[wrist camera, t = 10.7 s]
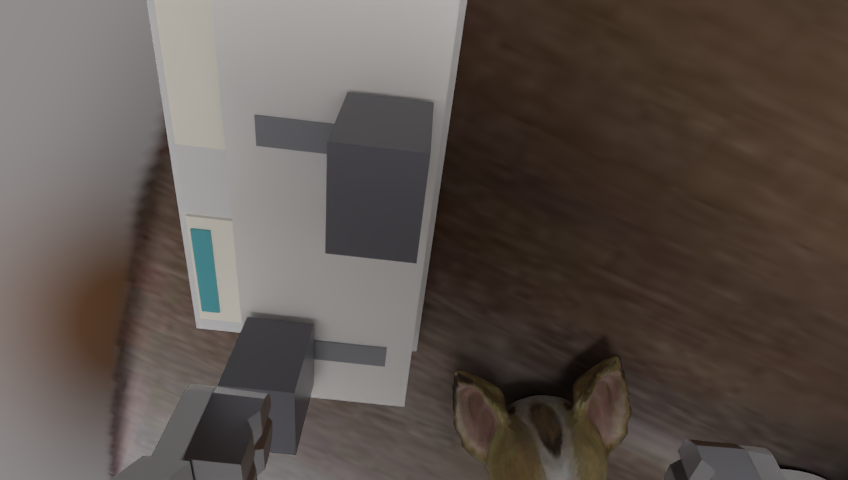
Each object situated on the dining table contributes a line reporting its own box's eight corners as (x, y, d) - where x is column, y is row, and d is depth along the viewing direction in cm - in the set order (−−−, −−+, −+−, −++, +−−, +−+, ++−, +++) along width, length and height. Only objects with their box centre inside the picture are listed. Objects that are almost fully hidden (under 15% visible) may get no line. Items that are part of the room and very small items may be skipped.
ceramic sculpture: (478, 613, 36) (443, 455, 29) (473, 491, 44) (444, 340, 36) (653, 604, 35) (664, 437, 28) (617, 480, 43) (618, 322, 35)
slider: (313, 383, 28) (295, 454, 25) (252, 377, 28) (226, 447, 25) (313, 323, 26) (294, 393, 23) (247, 316, 26) (218, 385, 23)
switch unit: (417, 339, 35) (411, 422, 30) (202, 316, 35) (160, 396, 30) (521, -390, 18) (549, -484, 13) (92, -454, 17) (-55, -576, 12)
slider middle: (421, 201, 22) (416, 263, 19) (343, 192, 22) (325, 253, 19) (433, 102, 20) (430, 153, 17) (347, 92, 20) (326, 141, 17)
